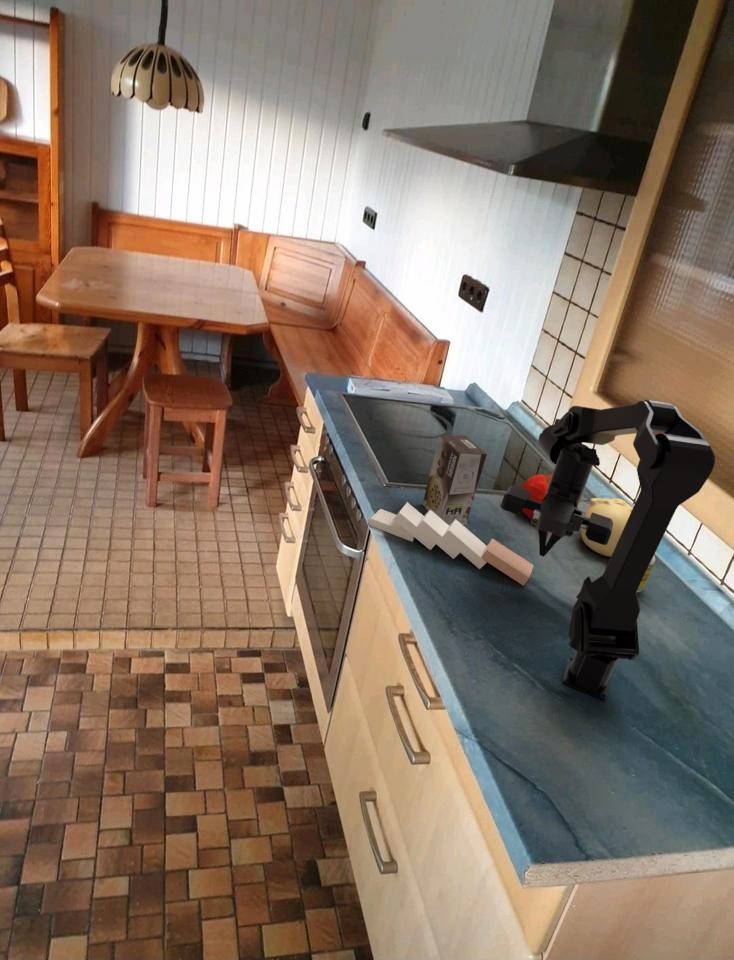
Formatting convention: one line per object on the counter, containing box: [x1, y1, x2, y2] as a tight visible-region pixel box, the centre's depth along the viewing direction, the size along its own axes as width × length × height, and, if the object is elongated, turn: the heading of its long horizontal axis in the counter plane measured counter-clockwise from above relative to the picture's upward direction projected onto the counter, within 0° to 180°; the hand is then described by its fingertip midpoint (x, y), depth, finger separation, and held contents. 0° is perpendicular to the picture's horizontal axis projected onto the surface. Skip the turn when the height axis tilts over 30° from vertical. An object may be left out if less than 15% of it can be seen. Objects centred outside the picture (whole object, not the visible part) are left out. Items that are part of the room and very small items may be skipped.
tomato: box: [521, 473, 553, 520], centre depth 150 cm, size 11×12×9 cm
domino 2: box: [393, 501, 437, 551], centre depth 132 cm, size 5×2×9 cm
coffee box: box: [422, 434, 488, 526], centre depth 141 cm, size 9×6×16 cm
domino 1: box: [369, 508, 416, 543], centre depth 135 cm, size 5×2×9 cm
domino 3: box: [417, 510, 461, 560], centre depth 131 cm, size 5×2×9 cm
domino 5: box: [481, 538, 535, 586], centre depth 128 cm, size 5×2×9 cm
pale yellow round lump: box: [580, 497, 634, 558], centre depth 143 cm, size 11×12×11 cm
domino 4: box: [442, 519, 488, 570], centre depth 130 cm, size 5×2×9 cm
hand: (542, 555), depth 125 cm, fingers closed
